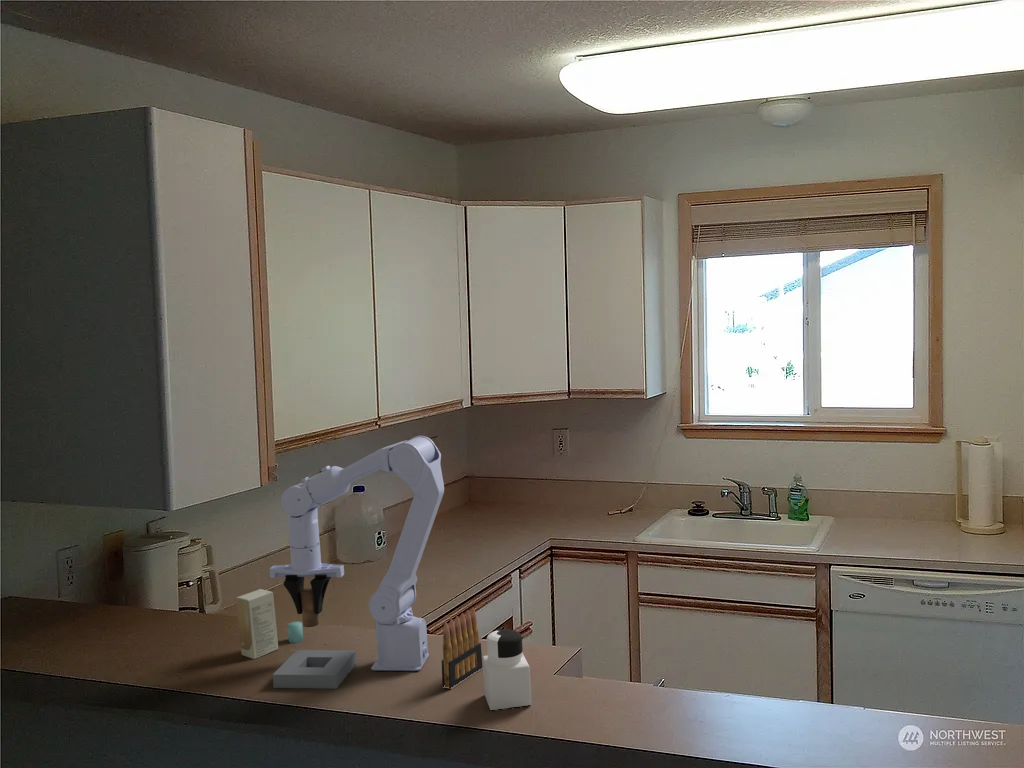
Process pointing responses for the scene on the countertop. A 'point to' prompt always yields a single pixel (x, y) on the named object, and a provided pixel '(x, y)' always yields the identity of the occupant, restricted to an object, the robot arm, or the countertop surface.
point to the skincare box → (257, 623)
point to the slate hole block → (315, 669)
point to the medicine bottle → (506, 671)
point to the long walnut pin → (308, 608)
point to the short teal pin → (295, 632)
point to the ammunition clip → (460, 649)
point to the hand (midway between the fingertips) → (309, 612)
